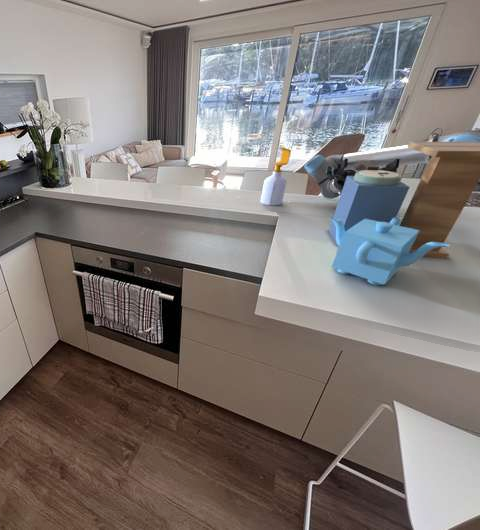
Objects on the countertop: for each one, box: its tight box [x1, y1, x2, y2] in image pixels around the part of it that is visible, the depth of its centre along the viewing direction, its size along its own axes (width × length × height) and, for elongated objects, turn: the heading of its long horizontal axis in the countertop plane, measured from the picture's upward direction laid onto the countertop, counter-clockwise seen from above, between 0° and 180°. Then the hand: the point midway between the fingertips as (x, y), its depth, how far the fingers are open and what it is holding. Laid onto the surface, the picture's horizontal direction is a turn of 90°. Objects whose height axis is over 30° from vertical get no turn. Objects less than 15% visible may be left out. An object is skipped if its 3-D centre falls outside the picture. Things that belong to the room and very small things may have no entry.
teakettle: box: [328, 216, 451, 286], centre depth 77 cm, size 19×19×15 cm
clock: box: [354, 160, 403, 185], centre depth 91 cm, size 22×11×3 cm, turn 159°
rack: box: [398, 141, 480, 259], centre depth 85 cm, size 16×14×30 cm
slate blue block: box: [328, 176, 411, 247], centre depth 92 cm, size 12×12×20 cm
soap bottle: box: [259, 146, 291, 207], centre depth 128 cm, size 9×9×25 cm
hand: (371, 162), depth 92 cm, fingers open, 13 cm apart
